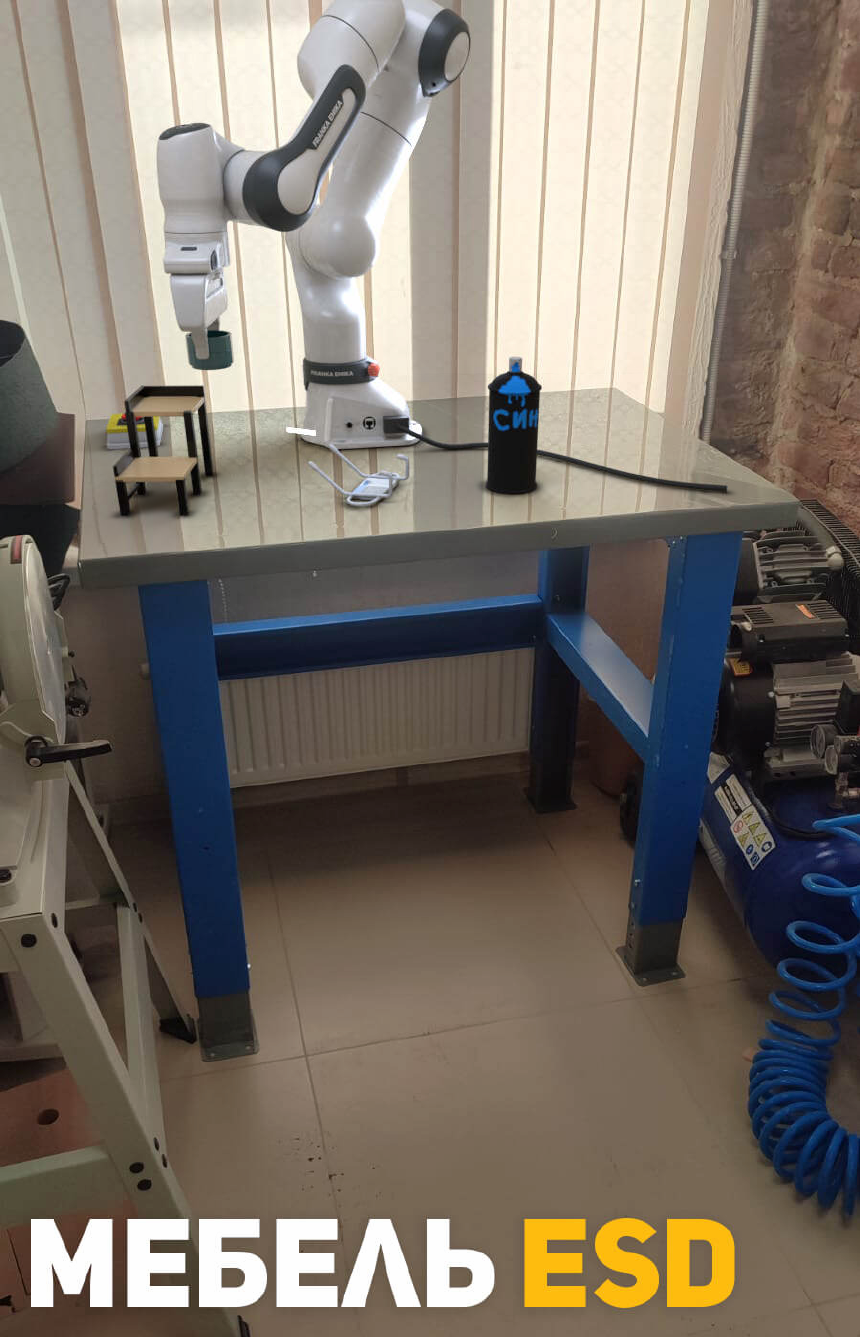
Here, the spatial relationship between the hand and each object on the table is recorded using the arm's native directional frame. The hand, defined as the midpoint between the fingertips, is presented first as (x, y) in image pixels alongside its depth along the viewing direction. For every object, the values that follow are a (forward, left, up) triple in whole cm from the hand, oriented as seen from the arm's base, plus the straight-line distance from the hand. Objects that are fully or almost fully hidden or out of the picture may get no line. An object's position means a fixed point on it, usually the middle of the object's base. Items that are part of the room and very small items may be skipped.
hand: (208, 353), depth 149 cm
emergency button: (+22, -31, -21) cm, 44 cm away
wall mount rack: (-22, +1, -21) cm, 31 cm away
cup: (0, 0, -2) cm, 2 cm away
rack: (+8, +2, -21) cm, 23 cm away
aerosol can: (-46, -1, -21) cm, 51 cm away
